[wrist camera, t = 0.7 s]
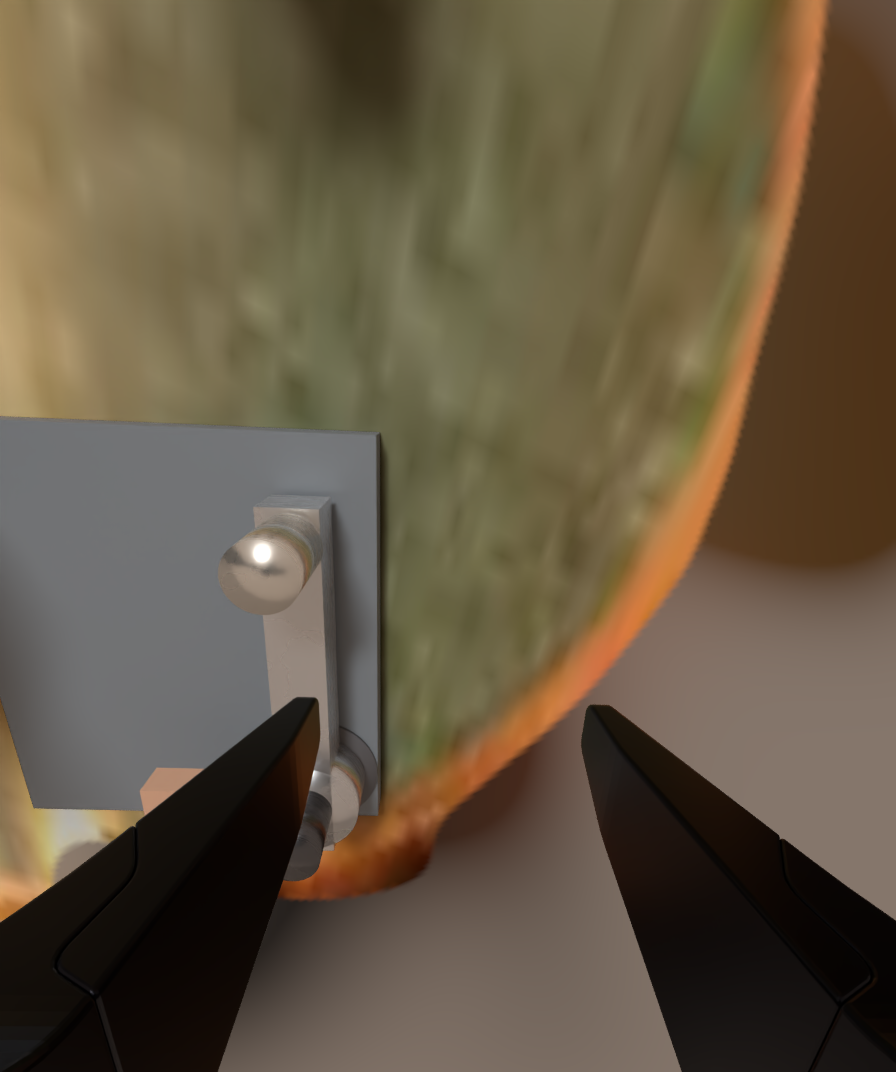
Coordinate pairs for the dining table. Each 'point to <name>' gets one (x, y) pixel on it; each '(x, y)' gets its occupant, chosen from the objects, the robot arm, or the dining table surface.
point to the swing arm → (300, 651)
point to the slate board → (164, 596)
